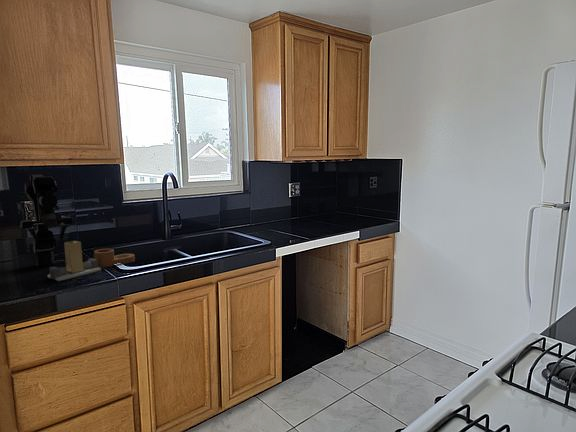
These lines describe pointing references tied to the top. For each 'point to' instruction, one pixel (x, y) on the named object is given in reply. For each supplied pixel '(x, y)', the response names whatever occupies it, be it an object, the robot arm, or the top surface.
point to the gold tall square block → (73, 256)
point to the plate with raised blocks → (63, 274)
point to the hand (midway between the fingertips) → (49, 242)
